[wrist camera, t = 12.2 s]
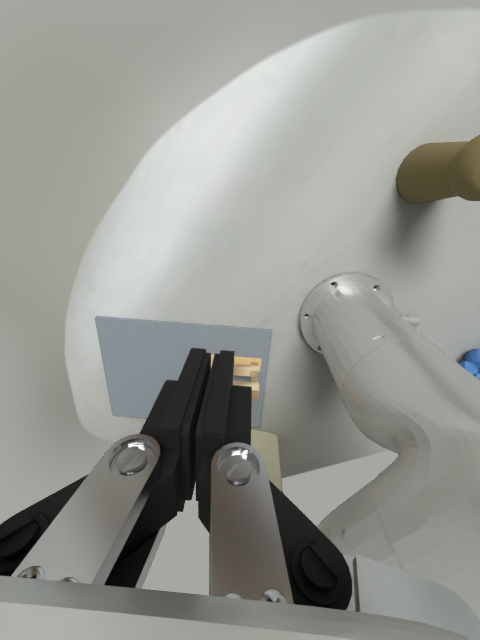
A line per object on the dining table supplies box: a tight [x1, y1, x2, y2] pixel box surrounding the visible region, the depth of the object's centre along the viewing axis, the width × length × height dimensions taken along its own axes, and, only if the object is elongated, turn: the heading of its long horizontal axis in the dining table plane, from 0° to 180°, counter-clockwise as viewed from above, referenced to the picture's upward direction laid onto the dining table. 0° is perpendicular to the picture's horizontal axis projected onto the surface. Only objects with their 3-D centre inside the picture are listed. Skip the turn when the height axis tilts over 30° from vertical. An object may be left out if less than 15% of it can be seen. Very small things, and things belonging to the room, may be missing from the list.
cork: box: [396, 135, 480, 203], centre depth 26 cm, size 6×6×11 cm
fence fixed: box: [211, 362, 259, 401], centre depth 38 cm, size 9×2×9 cm, turn 87°
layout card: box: [95, 316, 272, 428], centre depth 44 cm, size 26×20×1 cm
